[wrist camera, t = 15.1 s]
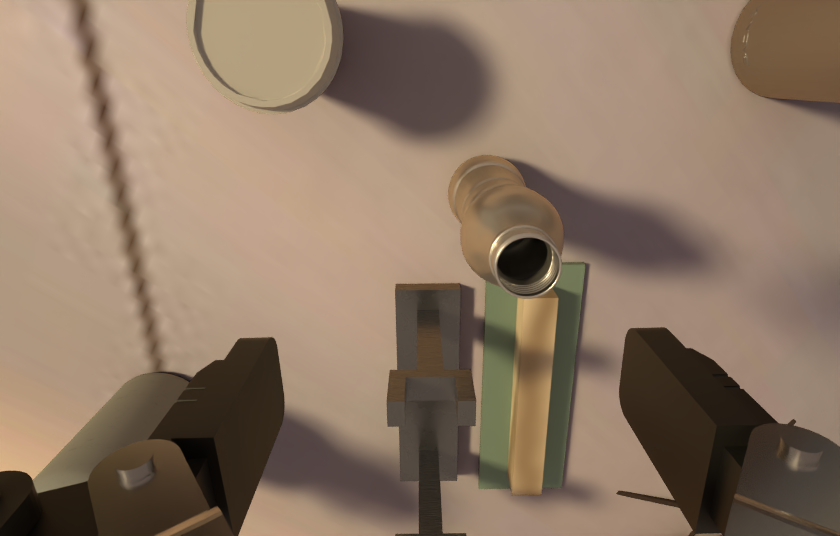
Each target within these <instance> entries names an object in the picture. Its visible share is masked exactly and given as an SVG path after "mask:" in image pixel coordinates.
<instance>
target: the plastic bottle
mask: <svg viewBox="0 0 840 536" xmlns="http://www.w3.org/2000/svg"><path fill="white" fill-rule="evenodd" d="M448 200H449V204H450V208H451V210H452V212H453V214H454V215H455V217H456V218H457V220H458V221H459V222H460V223H461V230H460V237H461V247H462V251H463V255H464V257H465V259H466V261H467V263H468V264H469V266H470V267H471V269H472V270H473V271H474V272H475V273H476V274H477V275H479V276H480V277H481V278H483V279H484V280H486V281H488V282H489V283H491V284H494V285H496V286H499V287H501V288H503V289H504V290H505V291H506V292H507V293H509V294H510V295H512V296H515V297H517V298H522V299H532V298H537V297H540V296H543V295H544V294H546V293H548V292H549V291H550V290H551V289H552V288H554V286H555V285H556V284H557V282H558V280H559V278H560V276H561V272H562V260H561V254H562V251H563V244H564V230H563V224H562V221H561V219H560V216H559V214H558V212H557V211H556V209H555V208H554V206H553V205H552V204H551V203H550V202H549V201H548V200H547V199H546V198H544V197H543V196H541V195H540V194H538V193H537V192H535V191H533V190H531V189H529V188H526V185H525V182H524V180H523V177H522V175H521V174H520V172H519V171H518V169H517V168H516V167H515V166H514V165H513V164H512V163H510V162H509V161H507V160H505V159H503V158H501V157H498V156H492V155H481V156H477V157H473V158H471V159H469V160H467V161H465V162H464V163H463V164H461V165H460V167H459V168H458V169H457V170H456V171H455V173H454V175H453V176H452V178H451V181H450V184H449V189H448Z"/></svg>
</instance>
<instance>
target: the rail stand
mask: <svg viewBox="0 0 840 536" xmlns="http://www.w3.org/2000/svg"><path fill="white" fill-rule="evenodd" d="M460 297H461V289H460V284H459V283H457V284H396V288H395V300H396V336H397V370H390V373H389V383H388V393H387V424H388V427H394V426H399V441H400V476H401V481H419V534H395V536H466V533H448V534H443V532H442V512H441V493H440V481H457V456H458V426H475V423H476V397H475V391H474V385H473V380H472V374H471V369H459V350H460Z"/></svg>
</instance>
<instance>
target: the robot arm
mask: <svg viewBox="0 0 840 536" xmlns="http://www.w3.org/2000/svg"><path fill="white" fill-rule="evenodd" d="M731 59H732V65H733V68H734V70H735V73H736V75H737V77H738V78H739V80H740V81H741V83H742V84H743V85H744V86H745V87H747V88H748V89H749V90H750V91H752V92H754V93H756V94H758V95H760V96H764V97H769V98H779V99H793V100H805V101H820V102H835V103H840V0H750V1H749V2H748V4H747V5H746V7H745V8H744V9H743V11H742V12H741V14H740V17H739V19H738V21H737V23H736V25H735V28H734V32H733V36H732V41H731ZM619 398H620V404H621V408H622V412H623V414H624V416H625V418H626V420H627V421H628V423H629V425H630V426H631V428H632V430H633V431H634V433H635V435H636V436H637V438H638V440H639V441H640V443H641V445H642V446H643V448H644V450H645V451H646V453H647V455H648V456H649V458H650V460H651V461H652V463H653V465H654V466H655V468H656V470H657V471H658V473H659V475H660V476H661V478H662V480H663V481H664V483H665V485H666V486H667V488H668V490H669V491H670V493H671V495H672V496H673V498H674V500H675V501H676V503H677V505H678V506H679V508H680V509H681V511H682V513H683V514H684V516H685V518H686V519H687V521H688V523H689V524H690V526H691V528H692V529H693V531H694V533H695V534H701V533H722V535H723V536H840V446H838V445H837V444H835V443H834V442H832V441H831V440H829V439H828V438H826V437H824V436H822V435H820V434H818V433H815V432H813V431H810V430H807V429H804V428H801V427H797V426H794V425H788V424H780V423H778V422H777V421H775V420H774V419H773V418H772V417H771V416H770V415H769V414H768V413H767V412H766V411H765V410H764V409H763V408H762V407H761V406H760V405H759V404H758V403H757V402H756V401H755V400H754V399H753V398H752V397H751V396H750V395H749V394H748V393H747V392H746V391H745V390H744V389H740V386H739V385H738V384H737V383H736V382H735V381H734V380H733V379H732V378H731V377H728V374H727V373H726V372H725V371H724V370H723V369H722V368H721V367H720V366H719V365H718V364H717V363H716V362H715V361H714V360H712V359H710V358H708V357H707V356H705V355H703V354H701V353H699V352H697V351H696V350H694V349H692V348H685V347H684V346H683V344H682V343H681V342H680V341H679V340H678V339H677V338H676V337H675V336H674V335H673V334H672V333H671V332H670V331H669V330H668V329H667V328H663V327H661V328H631V329H629V330H628V332H627V334H626V338H625V345H624V353H623V362H622V370H621V378H620V386H619ZM283 416H284V392H283V384H282V377H281V370H280V363H279V356H278V349H277V344H276V341H275V339H274V338H272V337H268V338H240V339H238V341H237V342H236V343H235V345H234V346H233V348H232V349H231V351H230V352H229V354H228V355H227V357H226V358H225V359H224V360H215V361H214V362H212V363H211V364H209V365H208V366H206V367H205V368H203V369H202V370H200V371H199V372H198V373H196V375H195V376H194V377H193V379H192V380H191V381H190V383H189V384H188V386H187V387H186V390H184V391H183V392H182V394H181V395H180V396H179V398H178V399H177V403H174V404H173V406H172V407H171V408H170V410H169V411H168V412H167V414H166V415H165V416H164V418H163V419H162V421H161V422H160V423H159V425H158V426H157V427H156V429H155V430H154V431H153V433H152V434H151V435H150V437H149V438H148V439H147V440H144V441H140V442H136V443H133V444H130V445H127V446H125V447H123V448H120V449H119V450H117V451H115V452H113V453H111V454H110V455H108V456H107V457H106V458H104V459H103V460H102V461H101V462H100V463H99V464H98V465H96V467H95V468H94V469H93V470H92V472H91V474H90V476H89V479H88V481H86V482H82V483H78V484H74V485H70V486H65V487H61V488H57V489H53V490H49V491H45V492H40V493H37V491H36V489H35V486H34V483H33V480H32V478H31V477H30V476H29V475H28V474H27V473H24V472H21V471H2V472H0V536H238V534H239V532H240V529H241V527H242V524H243V522H244V519H245V517H246V514H247V511H248V509H249V506H250V504H251V501H252V499H253V496H254V494H255V491H256V489H257V486H258V483H259V481H260V478H261V476H262V473H263V471H264V468H265V466H266V463H267V460H268V458H269V455H270V453H271V450H272V448H273V445H274V443H275V440H276V437H277V435H278V432H279V430H280V427H281V425H282V421H283Z"/></svg>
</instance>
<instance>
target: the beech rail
mask: <svg viewBox="0 0 840 536" xmlns="http://www.w3.org/2000/svg"><path fill="white" fill-rule="evenodd" d="M557 309H558V296H557V295H556V293H555V292H554V290H553V288H552V289H551V290H550V291H549V292H548V293H546V294H544V295H543V296H540V297H537V298H532V299H522V298H517V315H516V333H515V350H514V368H513V386H512V403H511V421H510V438H509V456H508V473H507V474H508V479H509V483H510V488H511V492H512V495H541V493H542V482H543V470H544V458H545V447H546V435H547V424H548V412H549V401H550V389H551V378H552V366H553V355H554V343H555V332H556V320H557Z"/></svg>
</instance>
